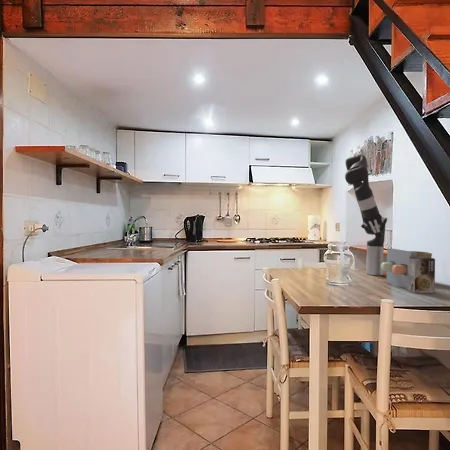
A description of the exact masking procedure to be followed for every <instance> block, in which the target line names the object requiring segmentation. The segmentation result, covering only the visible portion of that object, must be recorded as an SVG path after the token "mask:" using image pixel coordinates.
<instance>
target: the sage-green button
mask: <svg viewBox="0 0 450 450" xmlns="http://www.w3.org/2000/svg"><path fill="white" fill-rule="evenodd" d="M393 265H395V262H387V261H386V262H384V261H383V263H381V269H382V271H383V272H387V271H392V266H393Z"/></svg>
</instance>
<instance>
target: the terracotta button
mask: <svg viewBox="0 0 450 450" xmlns="http://www.w3.org/2000/svg"><path fill="white" fill-rule="evenodd" d="M407 268H408V265H393V266H392V272H393V274H407Z"/></svg>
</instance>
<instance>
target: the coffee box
mask: <svg viewBox="0 0 450 450" xmlns="http://www.w3.org/2000/svg"><path fill="white" fill-rule="evenodd" d="M408 291H410V292H412V293H414V294H436V292H435V291H436V258H434V257H410V258H409V290H408Z"/></svg>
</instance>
